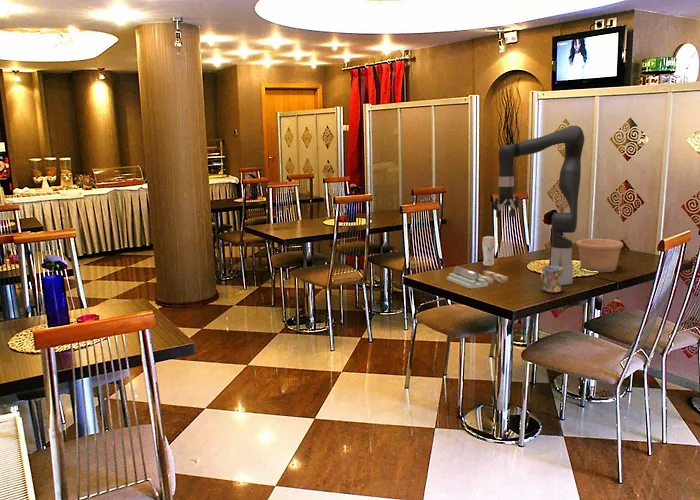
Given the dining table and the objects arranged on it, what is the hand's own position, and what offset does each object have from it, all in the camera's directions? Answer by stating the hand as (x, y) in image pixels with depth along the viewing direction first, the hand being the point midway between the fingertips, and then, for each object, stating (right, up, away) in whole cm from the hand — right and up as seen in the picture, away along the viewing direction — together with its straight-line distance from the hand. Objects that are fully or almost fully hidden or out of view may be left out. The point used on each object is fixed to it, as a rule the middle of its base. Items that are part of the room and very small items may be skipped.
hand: (505, 217), depth 298 cm
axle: (-23, -28, -16) cm, 40 cm away
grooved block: (-23, -32, -16) cm, 43 cm away
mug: (+10, -35, -35) cm, 51 cm away
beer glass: (-3, -25, +23) cm, 34 cm away
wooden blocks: (-12, -31, -11) cm, 35 cm away
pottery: (+48, -27, +3) cm, 55 cm away
